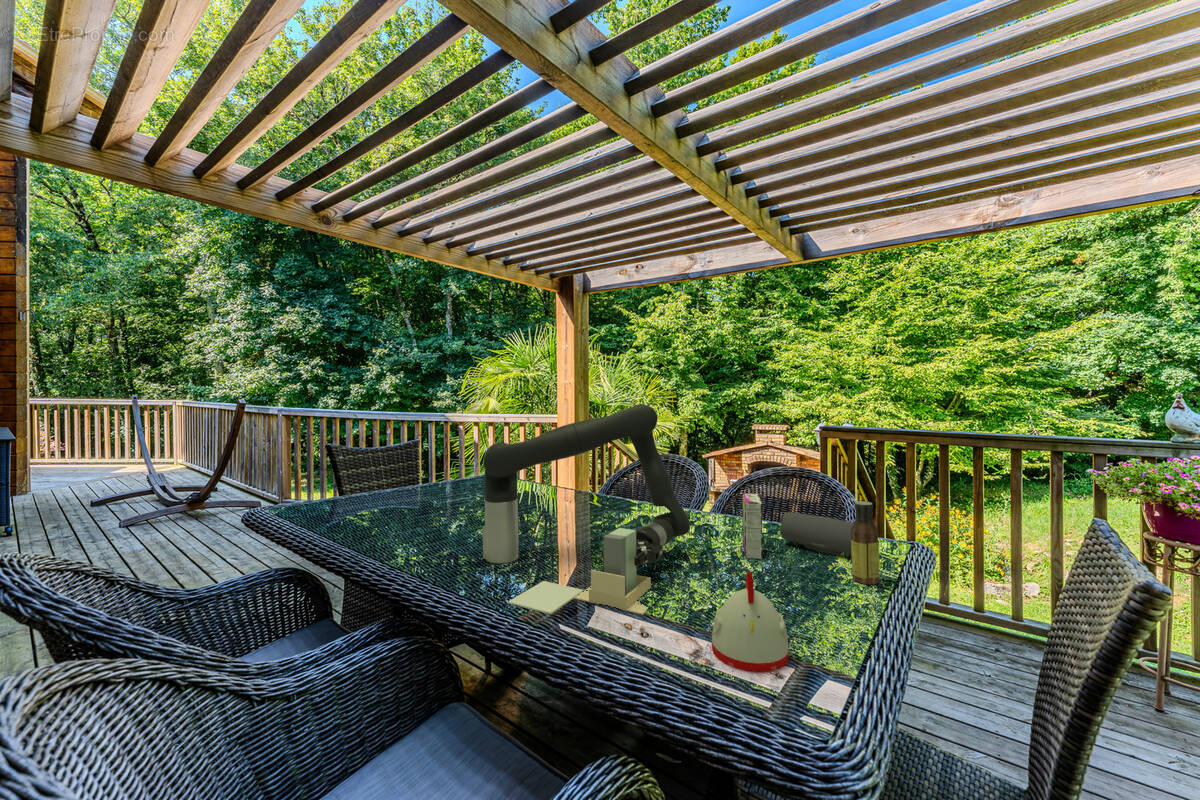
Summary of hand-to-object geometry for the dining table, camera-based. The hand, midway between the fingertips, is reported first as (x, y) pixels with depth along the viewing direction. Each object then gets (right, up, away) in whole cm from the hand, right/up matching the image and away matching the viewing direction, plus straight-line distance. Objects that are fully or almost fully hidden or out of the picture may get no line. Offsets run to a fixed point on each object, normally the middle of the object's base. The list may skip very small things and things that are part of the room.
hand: (619, 559), depth 124 cm
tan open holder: (+1, -9, +2) cm, 9 cm away
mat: (-17, -9, 0) cm, 19 cm away
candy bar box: (+40, -8, +30) cm, 50 cm away
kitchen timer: (+24, -10, -25) cm, 36 cm away
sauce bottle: (+62, -8, +8) cm, 63 cm away
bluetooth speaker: (+62, -7, +32) cm, 70 cm away
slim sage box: (0, -9, +1) cm, 9 cm away
